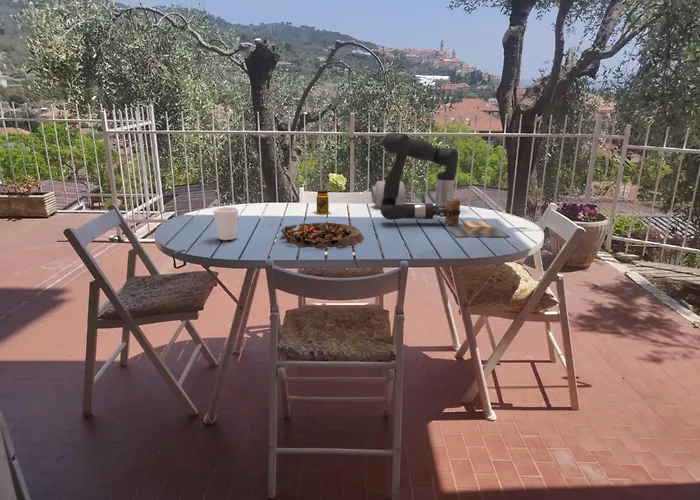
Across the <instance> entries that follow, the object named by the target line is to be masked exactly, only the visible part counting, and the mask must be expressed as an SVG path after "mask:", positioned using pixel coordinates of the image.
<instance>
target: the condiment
mask: <svg viewBox="0 0 700 500" xmlns="http://www.w3.org/2000/svg"><path fill="white" fill-rule="evenodd" d="M316 193H317V194H316V210H313V212H314V213H315V214H316V215H318V214H321V215H322V214H323V215H331V214H332V213H331V212H330V211H329V194H328V190H327V189H317V192H316ZM323 215H322V216H323Z"/></svg>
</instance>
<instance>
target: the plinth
mask: <svg viewBox="0 0 700 500" xmlns="http://www.w3.org/2000/svg"><path fill="white" fill-rule="evenodd" d="M445 229H446V230H447V231H448V232H449V233H450V234H451V233H452V234H453V235H454V236H455V237H454V236H453V237H454V238H456V237H466V238H467V237H487V238H510V237H511V236H510V235H509V234H507V233H506V232H504V231H503V230H502V229H500V228H498V227H497V226H492V225H491V224H489V223H488V222H486V221H481V220H479V221H474V220H473V221H468V220H467V221H462V226H446V227H445ZM452 234H451V235H452ZM467 239H468V238H467Z"/></svg>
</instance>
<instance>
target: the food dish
mask: <svg viewBox="0 0 700 500" xmlns="http://www.w3.org/2000/svg"><path fill="white" fill-rule="evenodd" d="M298 226H299V227H298ZM297 227H298V228H297ZM280 232H281V233H282V237H283V238H284V239H285V241H284V242H286V243H288V244H290V245H292V246H295V247H296V246H297V247H298V248H299V247H301V248H306V247H307V248H313V247H315V248H314V249H316V248H327V247H336V248H339V247H338V246H342V247H341V248H343V247H347V246H354V245H357V243H360V244H362V243H363V242H364V241H365V237H364V236H363V234H362V231H360V229H359V228H357V227H355V226H354V225H351V224H349V225H348V224H345V223H344V224H343V223H336V222H335V223H334V222H312V223H304V224H303V223H299V225H298V224H292V225H289V226H287V225H286V226H284V227H282V229H280ZM363 240H364V241H363ZM362 241H363V242H362ZM361 242H362V243H361ZM357 246H358V245H357ZM354 247H355V246H354ZM327 249H328V248H327Z"/></svg>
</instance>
